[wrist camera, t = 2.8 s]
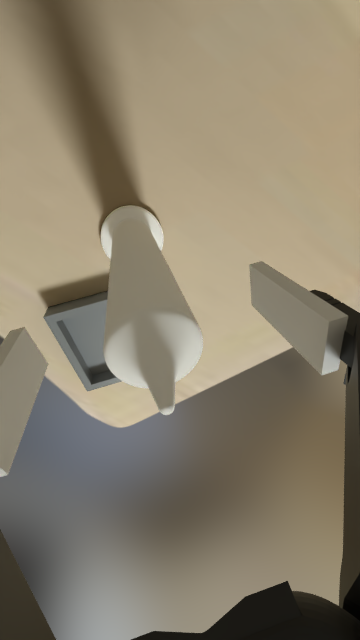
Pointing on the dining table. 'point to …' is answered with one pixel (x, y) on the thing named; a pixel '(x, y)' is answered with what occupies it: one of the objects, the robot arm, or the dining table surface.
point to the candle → (146, 309)
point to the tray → (83, 337)
